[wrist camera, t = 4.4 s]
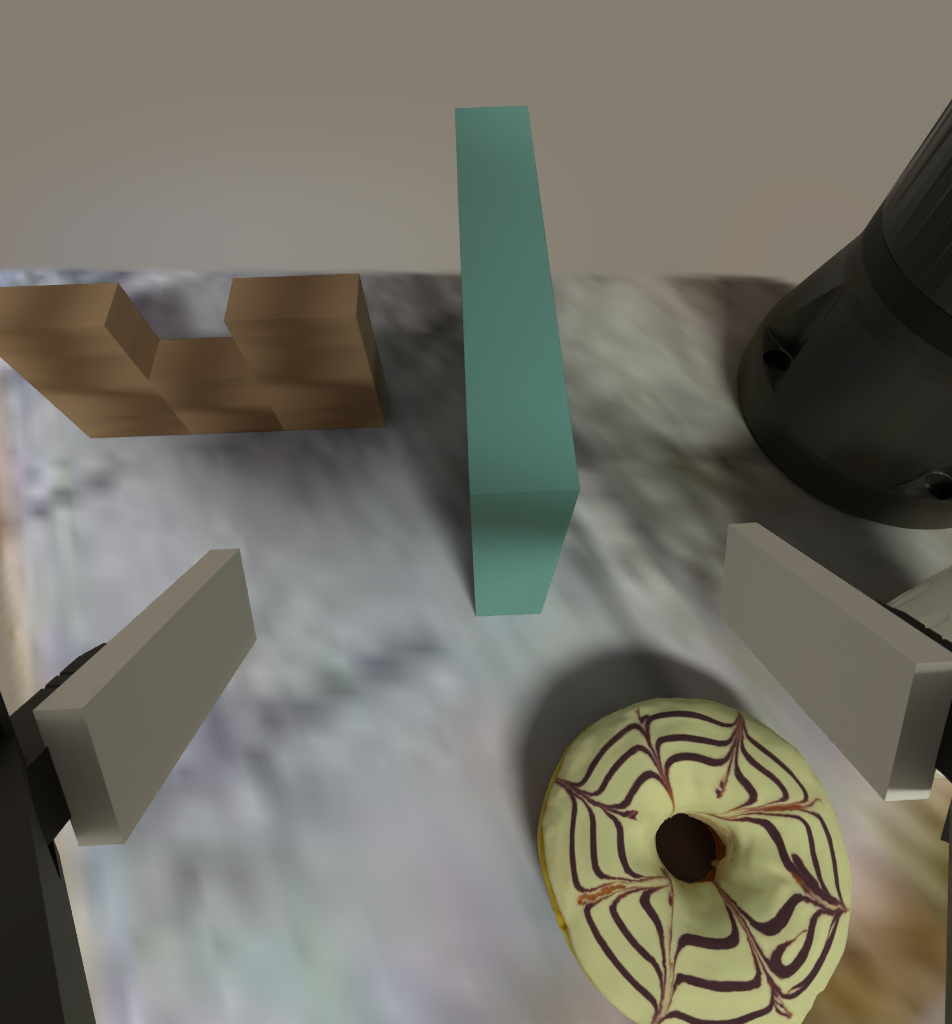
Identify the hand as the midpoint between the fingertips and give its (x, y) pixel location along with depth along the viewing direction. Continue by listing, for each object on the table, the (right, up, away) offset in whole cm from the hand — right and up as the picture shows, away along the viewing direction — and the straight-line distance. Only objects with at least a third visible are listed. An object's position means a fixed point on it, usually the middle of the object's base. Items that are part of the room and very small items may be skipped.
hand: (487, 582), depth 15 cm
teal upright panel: (+1, +5, +15) cm, 16 cm away
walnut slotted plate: (-13, +7, +16) cm, 22 cm away
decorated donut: (+7, -11, +7) cm, 15 cm away
